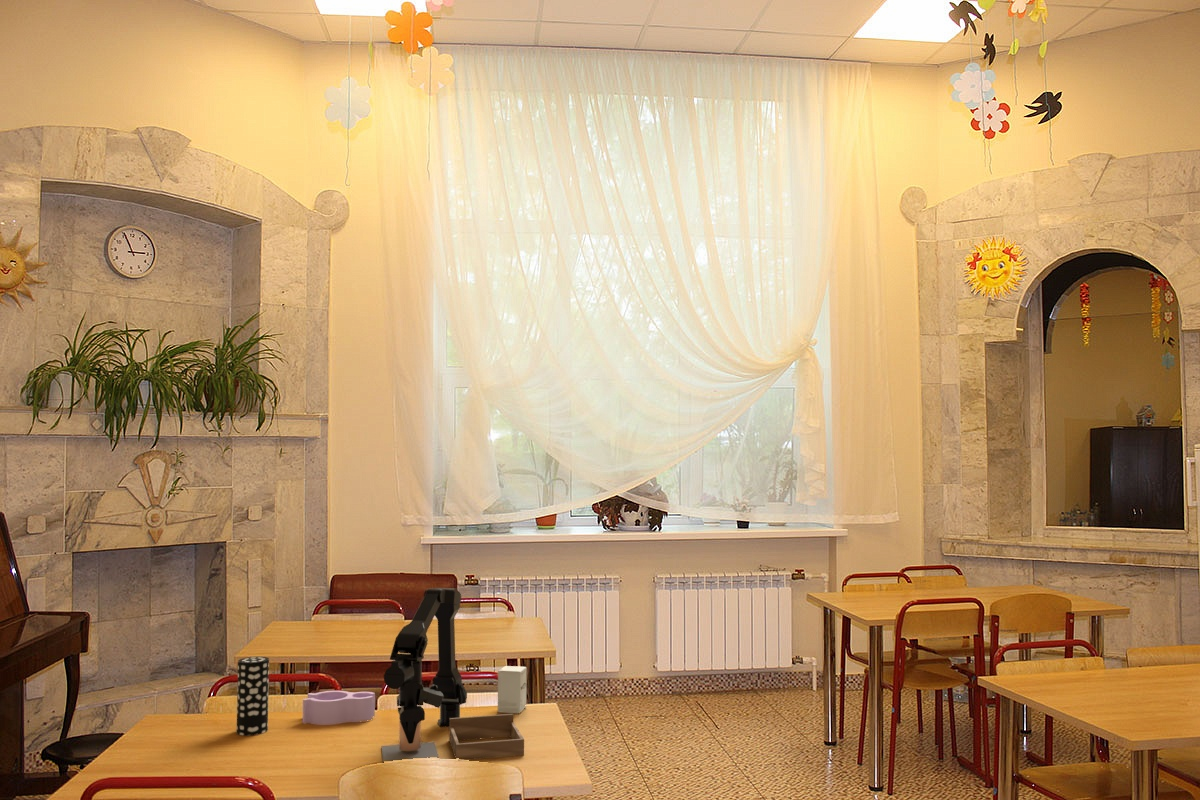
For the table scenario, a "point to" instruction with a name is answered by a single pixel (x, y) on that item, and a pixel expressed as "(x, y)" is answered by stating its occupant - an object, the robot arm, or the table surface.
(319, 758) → the table surface
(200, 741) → the table surface
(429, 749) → the mat
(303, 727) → the table surface
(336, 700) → the lavender two-hole holder
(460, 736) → the frame
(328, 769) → the table surface
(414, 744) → the terracotta pot
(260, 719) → the white-spotted black cylinder
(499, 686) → the supplement box
